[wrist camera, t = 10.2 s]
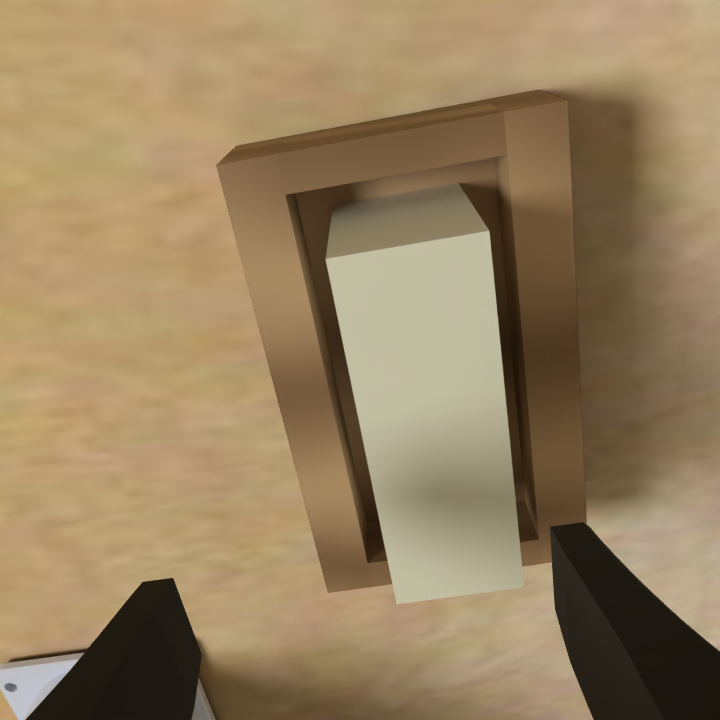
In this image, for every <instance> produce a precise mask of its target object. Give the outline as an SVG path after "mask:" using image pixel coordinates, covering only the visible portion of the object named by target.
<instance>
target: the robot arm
mask: <svg viewBox="0 0 720 720" xmlns="http://www.w3.org/2000/svg"><path fill="white" fill-rule="evenodd" d="M550 538H551V554H552V569H553V585H554V600H555V610H556V614H557V617H558V621H559V625H560V628H561V632H562V635H563V639H564V642H565V646H566V649H567V652H568V656H569V659H570V662H571V665H572V667H573V670H574V672H575V675H576V677H577V680H578V682H579V685H580V687H581V690H582V692H583V695H584V697H585V700H586V702H587V705H588V707H589V709H590V712H591V714H592V717H593V719H594V720H720V651H718V650H717V649H716V648H715V647H714V646H712V645H711V644H710V643H709V642H707V641H706V640H705V639H704V638H703V637H701V636H700V635H699V634H698V633H697V632H696V631H694V630H693V629H692V628H691V627H690V626H688V625H687V624H686V623H685V622H684V621H683V620H681V619H680V618H679V617H678V616H677V615H676V614H675V613H674V612H673V611H671V610H670V609H669V608H668V607H667V606H666V605H665V604H664V603H663V602H662V601H661V600H660V599H659V598H657V597H656V596H655V595H654V594H653V593H652V592H651V591H650V590H649V589H648V588H647V587H646V586H645V585H644V584H643V583H642V582H641V581H640V580H639V579H638V578H637V577H636V576H635V575H634V574H633V573H632V572H631V571H630V570H629V569H628V568H627V567H626V566H625V565H624V564H623V563H622V562H621V561H620V560H619V559H618V558H617V557H616V556H615V555H614V554H613V553H612V552H611V550H610V549H609V548H608V547H607V546H606V545H605V544H604V543H603V542H602V541H601V539H600V538H599V537H598V536H597V535H596V534H595V533H594V532H593V530H592V529H591V528H590V527H589V526H588V525H586V524H585V523H584V522H580V523H573V524H565V525H558V526H551V527H550ZM200 661H201V652H200V649H199V646H198V644H197V641H196V638H195V635H194V633H193V630H192V627H191V625H190V622H189V619H188V617H187V614H186V611H185V609H184V606H183V603H182V601H181V598H180V595H179V593H178V590H177V587H176V585H175V582H174V579H173V578H169V579H161V580H154V581H147V582H142V583H141V585H140V586H139V587H138V588H137V589H136V590H135V592H134V593H133V594H132V595H131V596H130V598H129V599H128V600H127V601H126V603H125V604H124V605H123V606H122V607H121V609H120V610H119V611H118V612H117V614H116V615H115V616H114V617H113V619H112V620H111V621H110V622H109V624H108V625H107V626H106V627H105V629H104V630H103V631H102V632H101V634H100V635H99V636H98V637H97V638H96V640H95V641H94V642H93V643H92V644H91V646H90V647H89V648H88V649H87V650H86V652H85V653H77V654H70V655H62V656H55V657H47V658H40V659H32V660H25V661H17V662H10V663H4V664H1V665H0V689H1V691H2V693H3V694H4V696H5V698H6V700H7V701H8V703H9V705H10V706H11V708H12V710H13V712H14V713H15V715H16V717H17V718H18V720H215V717H214V714H213V712H212V709H211V707H210V704H209V702H208V699H207V697H206V694H205V692H204V689H203V687H202V684H201V682H200V679H199V670H200Z"/></svg>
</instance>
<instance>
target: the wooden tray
mask: <svg viewBox="0 0 720 720" xmlns="http://www.w3.org/2000/svg"><path fill="white" fill-rule="evenodd" d="M216 166H217V170H218V173H219V177H220V181H221V185H222V189H223V193H224V196H225V200H226V204H227V208H228V212H229V216H230V219H231V223H232V227H233V231H234V235H235V238H236V242H237V246H238V250H239V254H240V258H241V261H242V265H243V269H244V273H245V277H246V281H247V284H248V288H249V292H250V296H251V300H252V304H253V307H254V311H255V315H256V319H257V323H258V327H259V330H260V334H261V338H262V342H263V346H264V350H265V353H266V357H267V361H268V365H269V369H270V373H271V376H272V380H273V384H274V388H275V392H276V395H277V399H278V403H279V407H280V411H281V415H282V418H283V422H284V426H285V430H286V434H287V438H288V441H289V445H290V449H291V453H292V457H293V461H294V464H295V468H296V472H297V476H298V480H299V484H300V487H301V491H302V495H303V499H304V503H305V507H306V510H307V514H308V518H309V522H310V526H311V530H312V533H313V537H314V541H315V545H316V549H317V552H318V556H319V560H320V564H321V568H322V572H323V575H324V579H325V583H326V587H327V591H328V593H330V592H338V591H345V590H352V589H360V588H367V587H374V586H382V585H389V584H392V579H391V575H390V570H389V565H388V560H387V555H386V550H385V545H384V541H383V536H382V531H381V526H380V521H379V516H378V511H377V507H376V502H375V497H374V492H373V487H372V482H371V477H370V473H369V468H368V463H367V458H366V453H365V448H364V443H363V439H362V434H361V429H360V424H359V419H358V414H357V409H356V405H355V400H354V395H353V390H352V385H351V380H350V375H349V371H348V366H347V361H346V356H345V351H344V346H343V341H342V337H341V332H340V327H339V322H338V317H337V312H336V307H335V303H334V298H333V293H332V288H331V283H330V278H329V273H328V269H327V264H326V252H327V245H328V238H329V231H330V224H331V217H332V210H333V205H336V204H342V203H347V202H353V201H359V200H364V199H370V198H375V197H381V196H387V195H392V194H398V193H404V192H409V191H415V190H420V189H426V188H432V187H437V186H443V185H449V184H454V183H459V185H460V186H461V188H462V189H463V191H464V193H465V194H466V196H467V197H468V199H469V200H470V202H471V203H472V205H473V206H474V208H475V209H476V211H477V213H478V214H479V216H480V217H481V219H482V220H483V222H484V223H485V225H486V226H487V228H488V229H489V232H490V243H491V253H492V263H493V273H494V284H495V294H496V304H497V314H498V325H499V335H500V345H501V355H502V366H503V376H504V386H505V396H506V407H507V417H508V427H509V437H510V448H511V458H512V468H513V478H514V489H515V499H516V509H517V519H518V530H519V540H520V550H521V561H522V566H529V565H536V564H543V563H551V562H552V554H551V538H550V527H551V526H558V525H565V524H573V523H580V522H584V523H585V524H586V501H585V478H584V456H583V433H582V410H581V387H580V365H579V342H578V319H577V296H576V274H575V251H574V228H573V206H572V183H571V160H570V137H569V115H568V100H566V99H563V98H560V97H557V96H554V95H551V94H548V93H546V92H543V91H540V90H535V91H529V92H524V93H518V94H513V95H508V96H502V97H497V98H492V99H486V100H481V101H475V102H470V103H465V104H459V105H454V106H449V107H443V108H438V109H433V110H427V111H422V112H416V113H411V114H406V115H400V116H395V117H390V118H384V119H379V120H374V121H368V122H363V123H357V124H352V125H347V126H341V127H336V128H331V129H325V130H320V131H315V132H309V133H304V134H298V135H293V136H288V137H282V138H277V139H272V140H266V141H261V142H256V143H250V144H245V145H239V146H236V147H235V148H234V149H232V150H231V151H230V152H229V153H228V154H227V155H226V156H225V157H224V158H223V159H222V160H221V161H220V162H219V163H218V164H217V165H216ZM586 525H587V524H586Z"/></svg>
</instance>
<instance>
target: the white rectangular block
mask: <svg viewBox="0 0 720 720" xmlns="http://www.w3.org/2000/svg"><path fill="white" fill-rule="evenodd" d="M326 264H327V269H328V273H329V278H330V283H331V288H332V293H333V298H334V303H335V307H336V312H337V317H338V322H339V327H340V332H341V337H342V341H343V346H344V351H345V356H346V361H347V366H348V371H349V375H350V380H351V385H352V390H353V395H354V400H355V405H356V409H357V414H358V419H359V424H360V429H361V434H362V439H363V443H364V448H365V453H366V458H367V463H368V468H369V473H370V477H371V482H372V487H373V492H374V497H375V502H376V507H377V511H378V516H379V521H380V526H381V531H382V536H383V541H384V545H385V550H386V555H387V560H388V565H389V570H390V575H391V579H392V584H393V589H394V594H395V599H396V604H403V603H410V602H417V601H425V600H432V599H440V598H447V597H455V596H462V595H470V594H477V593H485V592H492V591H500V590H507V589H515V588H522V587H524V581H523V571H522V561H521V550H520V540H519V530H518V519H517V509H516V499H515V489H514V478H513V468H512V458H511V448H510V437H509V427H508V417H507V407H506V396H505V386H504V376H503V366H502V355H501V345H500V335H499V325H498V314H497V304H496V294H495V284H494V273H493V263H492V253H491V243H490V232H489V229H488V228H487V226H486V225H485V223H484V222H483V220H482V219H481V217H480V216H479V214H478V213H477V211H476V209H475V208H474V206H473V205H472V203H471V202H470V200H469V199H468V197H467V196H466V194H465V193H464V191H463V189H462V188H461V186H460V185H459V183H454V184H449V185H443V186H437V187H432V188H426V189H420V190H415V191H409V192H404V193H398V194H392V195H387V196H381V197H375V198H370V199H364V200H359V201H353V202H347V203H342V204H336V205H333V210H332V217H331V224H330V231H329V238H328V245H327V252H326Z"/></svg>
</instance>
